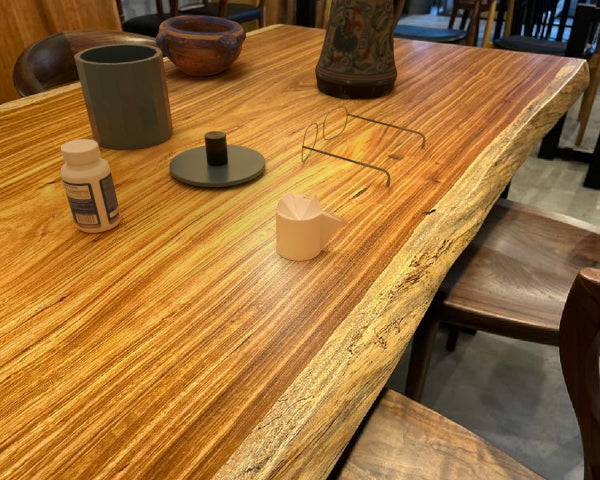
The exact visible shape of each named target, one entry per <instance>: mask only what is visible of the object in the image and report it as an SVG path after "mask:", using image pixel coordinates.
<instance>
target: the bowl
mask: <svg viewBox="0 0 600 480" xmlns="http://www.w3.org/2000/svg"><path fill="white" fill-rule="evenodd" d="M246 38H247V32H246V29H245V28H244V27H243V26H242V25H241V24H240V23H238V22H237V21H233V20H230V19H227V18H224V17H218V16H212V15H211V16H210V15H178V16H173V17H170V18H167V19H165V20H164V21H163V22H161V23H160V25H159V27H158V33H157V35H156V37H155V44H156V46H157V48H160V50H161V51H162V54H164V56H165V57H166V58H167V59H168V60H169V61H170V62H171V63H172V64H174V66H175V67H177V68H178V69H179V70H180V71H182V72H183V73H185V74H186V75H189V76H192V77H205V76H212V75H213V76H214V75H217V74H220V73H222V72H223V71H226V69H227V68H228V67H230V66H231V65H233V64H234V63H235V62H236V61H237V59H238V58H240V55H241V53H242V49H243V43H244V42H245V41H246Z"/></svg>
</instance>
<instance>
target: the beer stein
mask: <svg viewBox="0 0 600 480" xmlns="http://www.w3.org/2000/svg"><path fill="white" fill-rule="evenodd" d="M405 5H406V0H330V8H329V13H328V18H327V25H326V29H325V33H324V38H323V43H322V47H321V51H320V55H319V58H318V61H317V63H316V65H315V68H314V72H315V78H316V86H317V89H318V91H320V92H321V93H323V94H325V95H326V96H329V97H330V96H331V97H334V98H338V99H342V100H343V99H344V100H371V99H378V98H383V97H385V96H388V95H390V94H392V92H393V91H394V87H395V83H396V81H397V78H398V69H397V65H396V61H395V45H394V44H395V33H394V31H395V29H396V27H397V25H398V23H399V21H400V19H401V16H402V14H403V10H404V7H405Z"/></svg>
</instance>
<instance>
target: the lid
mask: <svg viewBox="0 0 600 480" xmlns="http://www.w3.org/2000/svg"><path fill="white" fill-rule="evenodd" d="M227 140H228V139H227V134H226V133H225V132H224V131H220V130H219V131H218V130H213V131H208V132H206V133H205V134H204V144H205V145H201V146H196V147H192V148H188V149H185V150H184V151H181V152H180V153H177V154H176V155H175V156H174V157H172V159H171V160H170V162H169V165H168V166H169V173H170V174H171V176H173V178H175V179H176V180H178V181H179V182H181V183H184V184H188V185H191V186H196V187H204V188H220V187H221V188H222V187H230V186H236V185H239V184H243V183H247V182H249V181H251V180H253V179H255V178H257V177H259V176H260V175H261V174H262V173H263V172H264V171H265V168H266V158H265V157H264V156H263V154H261V153H260V152H259V151H257V150H255V149H253V148H250V147H247V146H243V145H238V144H237V145H236V144H228V141H227Z"/></svg>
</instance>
